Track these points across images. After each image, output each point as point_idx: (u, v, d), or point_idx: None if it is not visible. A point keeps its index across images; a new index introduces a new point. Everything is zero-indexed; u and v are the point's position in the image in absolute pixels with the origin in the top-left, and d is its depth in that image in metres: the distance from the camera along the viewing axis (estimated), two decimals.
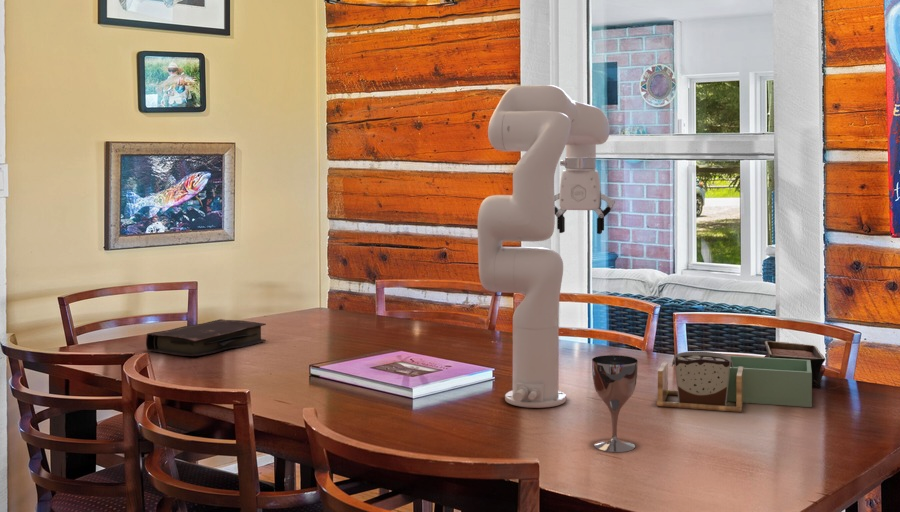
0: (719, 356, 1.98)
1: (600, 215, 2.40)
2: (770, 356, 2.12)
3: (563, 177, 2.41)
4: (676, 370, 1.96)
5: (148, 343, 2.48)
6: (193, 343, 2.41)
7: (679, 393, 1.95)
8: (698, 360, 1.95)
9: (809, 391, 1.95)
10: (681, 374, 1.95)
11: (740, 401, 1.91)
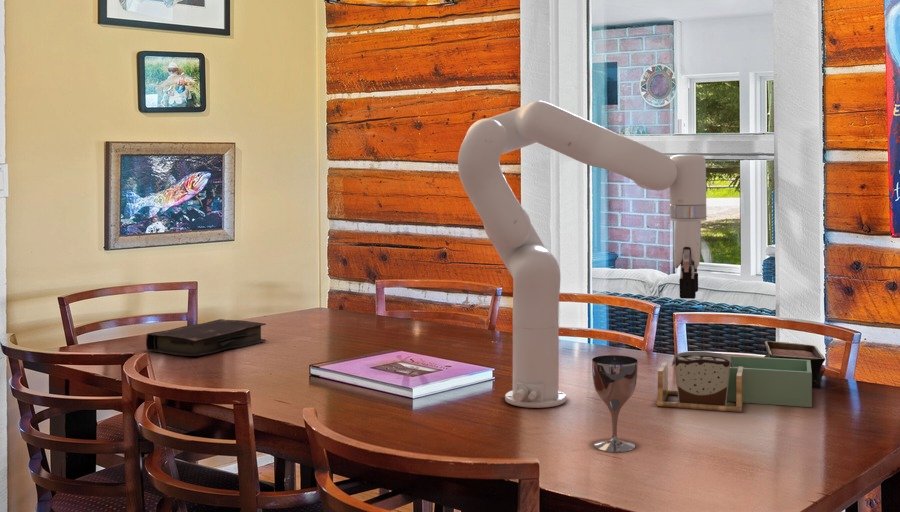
0: (719, 356, 1.98)
1: None
2: (770, 356, 2.12)
3: None
4: (676, 370, 1.96)
5: (148, 343, 2.48)
6: (193, 343, 2.41)
7: (679, 393, 1.95)
8: (698, 360, 1.95)
9: (809, 391, 1.95)
10: (681, 374, 1.95)
11: (740, 401, 1.91)
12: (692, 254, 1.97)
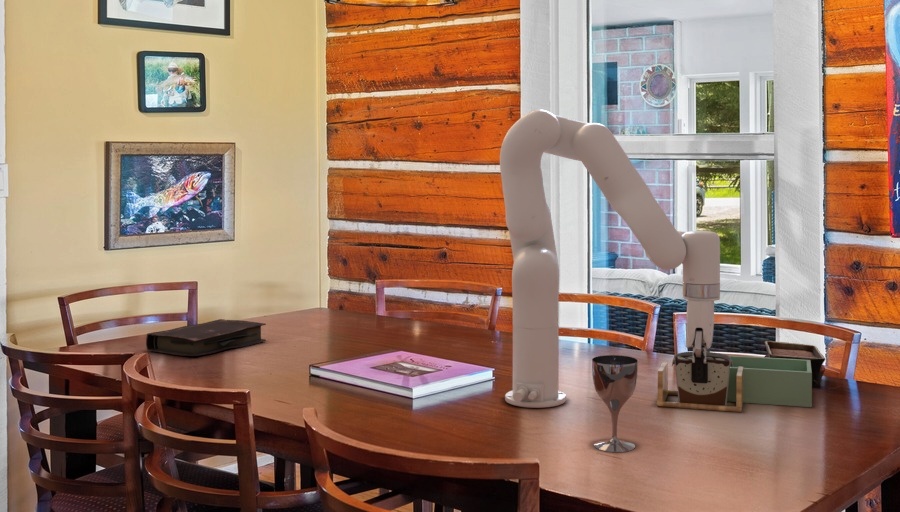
0: (719, 356, 1.99)
1: None
2: (770, 356, 2.12)
3: None
4: (676, 370, 1.96)
5: (148, 343, 2.48)
6: (193, 343, 2.41)
7: (679, 393, 1.96)
8: None
9: (809, 391, 1.95)
10: (681, 374, 1.96)
11: (740, 401, 1.91)
12: (704, 335, 1.93)
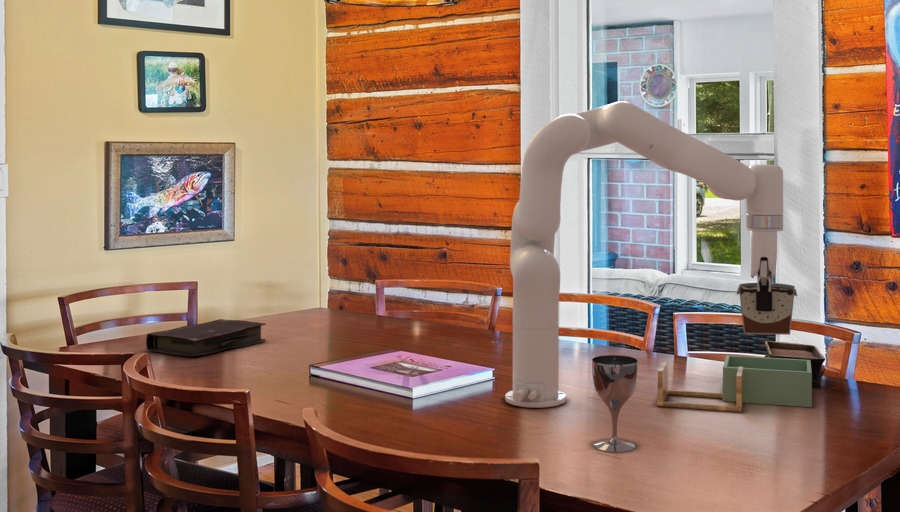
0: (782, 286, 2.04)
1: None
2: (770, 356, 2.12)
3: None
4: (741, 299, 2.01)
5: (148, 343, 2.48)
6: (193, 343, 2.41)
7: (744, 321, 2.00)
8: None
9: (809, 391, 1.95)
10: (746, 303, 2.00)
11: (740, 401, 1.91)
12: (769, 264, 1.98)
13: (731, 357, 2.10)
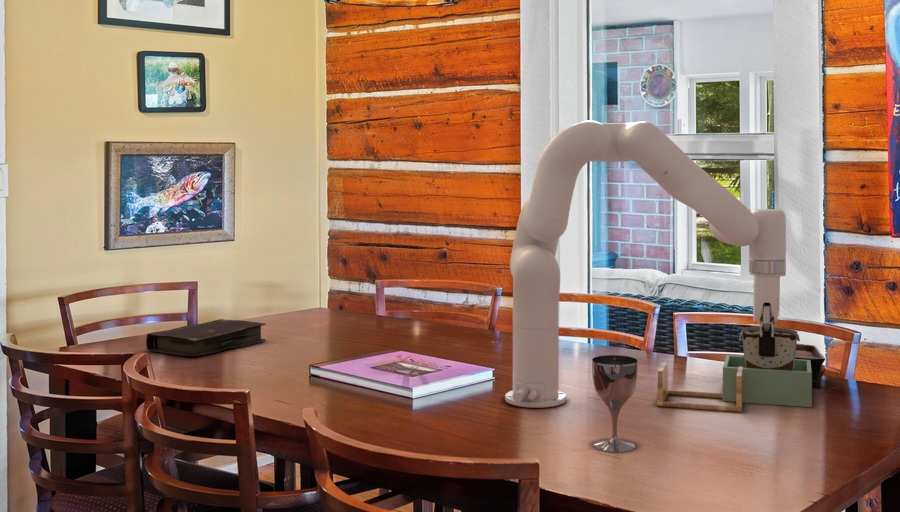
0: (784, 331, 2.04)
1: None
2: None
3: None
4: (743, 344, 2.01)
5: (148, 343, 2.48)
6: (193, 343, 2.41)
7: (747, 366, 2.01)
8: None
9: (809, 391, 1.95)
10: (748, 348, 2.01)
11: (740, 401, 1.91)
12: (772, 310, 1.98)
13: (731, 357, 2.10)
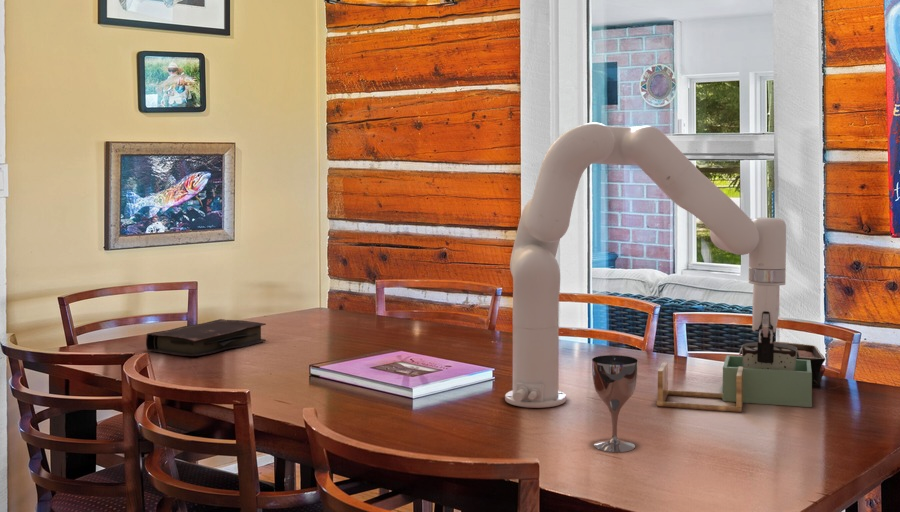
0: (784, 346, 2.04)
1: (759, 340, 1.98)
2: None
3: None
4: (743, 360, 2.01)
5: (148, 343, 2.48)
6: (193, 343, 2.41)
7: None
8: None
9: (809, 391, 1.95)
10: (748, 364, 2.01)
11: (740, 401, 1.91)
12: (771, 319, 1.98)
13: (731, 357, 2.10)
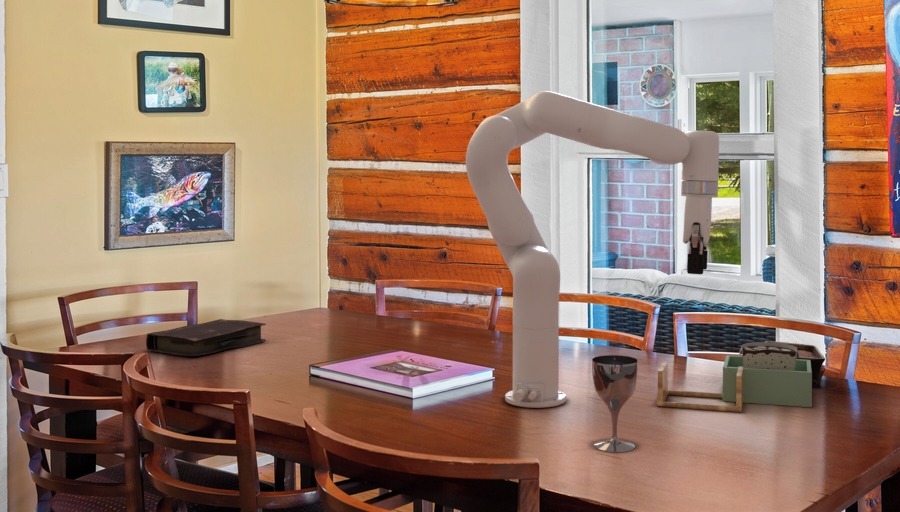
0: (784, 346, 2.04)
1: None
2: None
3: None
4: (743, 360, 2.01)
5: (148, 343, 2.48)
6: (193, 343, 2.41)
7: None
8: (765, 350, 2.00)
9: (809, 391, 1.95)
10: (748, 364, 2.01)
11: (740, 401, 1.91)
12: (701, 230, 1.97)
13: (731, 357, 2.10)
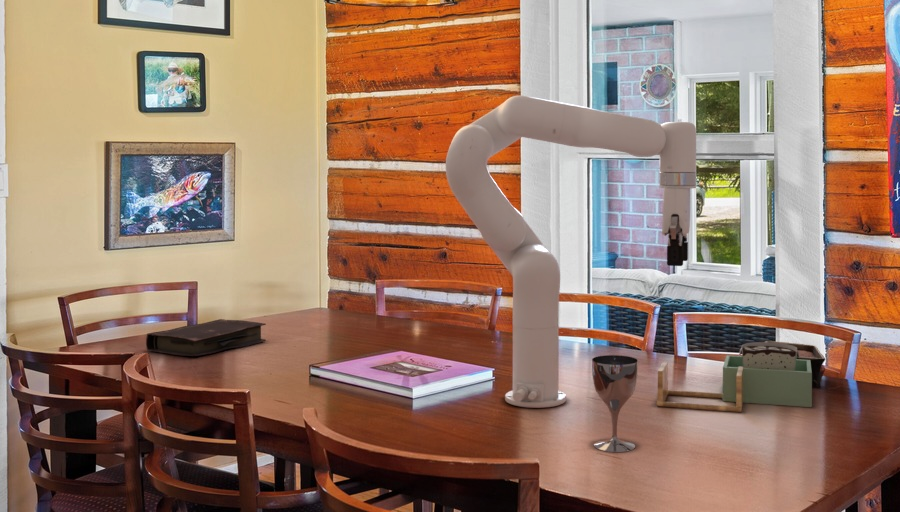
0: (784, 346, 2.04)
1: None
2: None
3: None
4: (743, 360, 2.01)
5: (148, 343, 2.48)
6: (193, 343, 2.41)
7: None
8: (765, 350, 2.00)
9: (809, 391, 1.95)
10: (748, 364, 2.01)
11: (740, 401, 1.91)
12: (680, 221, 1.96)
13: (731, 357, 2.10)
